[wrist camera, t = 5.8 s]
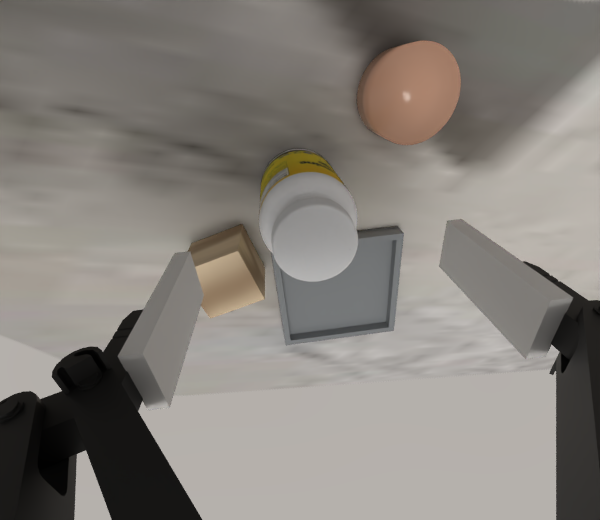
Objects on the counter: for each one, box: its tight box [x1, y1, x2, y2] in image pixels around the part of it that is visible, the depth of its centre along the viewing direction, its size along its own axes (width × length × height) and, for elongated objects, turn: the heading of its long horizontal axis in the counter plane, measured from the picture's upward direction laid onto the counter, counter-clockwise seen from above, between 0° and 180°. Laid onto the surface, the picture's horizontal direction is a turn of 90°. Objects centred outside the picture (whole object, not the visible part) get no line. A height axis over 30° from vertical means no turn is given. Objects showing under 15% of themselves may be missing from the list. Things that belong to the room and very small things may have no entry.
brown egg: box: [357, 41, 461, 145], centre depth 21 cm, size 6×6×4 cm
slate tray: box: [271, 226, 404, 345], centre depth 31 cm, size 12×12×2 cm
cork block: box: [188, 224, 265, 318], centre depth 26 cm, size 5×5×5 cm
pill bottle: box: [259, 149, 358, 282], centre depth 21 cm, size 6×6×11 cm
